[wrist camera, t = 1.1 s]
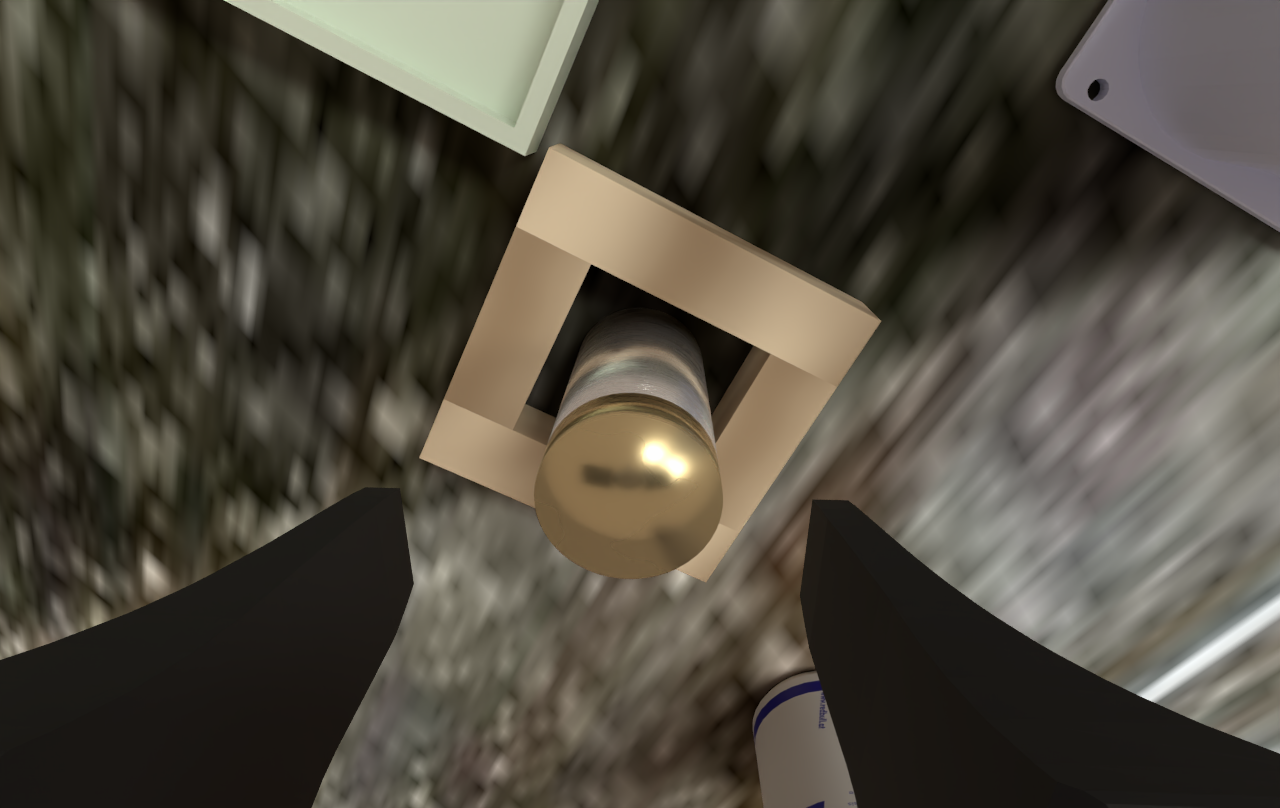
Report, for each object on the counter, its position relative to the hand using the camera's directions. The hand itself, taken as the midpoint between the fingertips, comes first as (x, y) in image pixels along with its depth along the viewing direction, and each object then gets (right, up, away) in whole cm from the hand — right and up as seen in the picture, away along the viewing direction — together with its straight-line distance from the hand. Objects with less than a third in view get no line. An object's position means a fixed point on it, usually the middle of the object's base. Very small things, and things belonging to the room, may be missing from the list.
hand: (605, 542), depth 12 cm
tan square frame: (+1, +4, +10) cm, 10 cm away
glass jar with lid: (+1, +4, +10) cm, 10 cm away
